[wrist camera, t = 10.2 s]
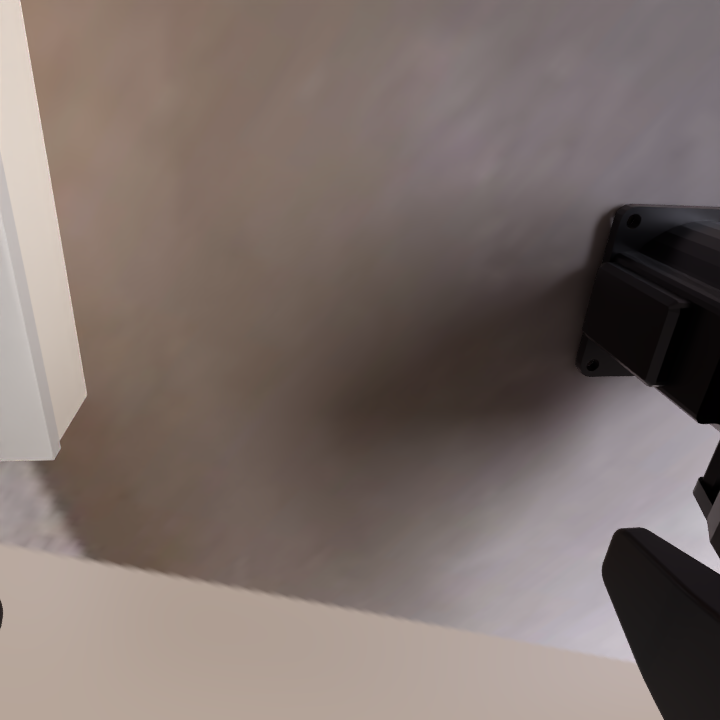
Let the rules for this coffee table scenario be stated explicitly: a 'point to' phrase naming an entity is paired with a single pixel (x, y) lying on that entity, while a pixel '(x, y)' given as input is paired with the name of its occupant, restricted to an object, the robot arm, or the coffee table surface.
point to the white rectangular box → (31, 271)
